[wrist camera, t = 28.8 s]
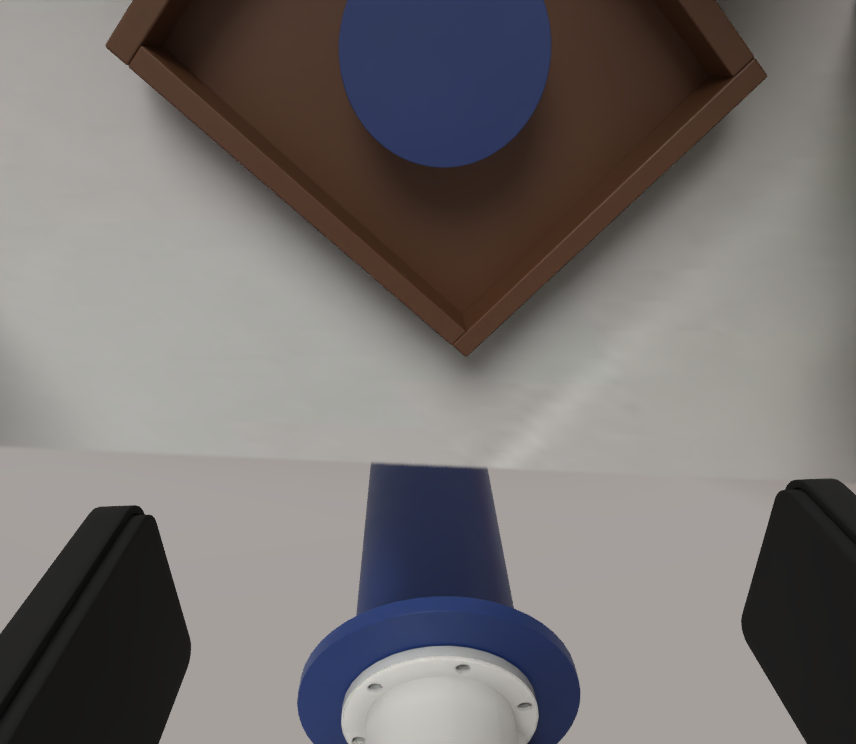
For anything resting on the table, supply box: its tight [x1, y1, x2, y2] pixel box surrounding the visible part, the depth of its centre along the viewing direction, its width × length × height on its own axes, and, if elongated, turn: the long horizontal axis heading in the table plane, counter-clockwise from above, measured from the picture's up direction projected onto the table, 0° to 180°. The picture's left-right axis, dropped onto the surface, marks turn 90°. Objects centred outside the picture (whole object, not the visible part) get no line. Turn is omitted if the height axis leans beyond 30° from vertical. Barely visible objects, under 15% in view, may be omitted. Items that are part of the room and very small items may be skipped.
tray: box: [106, 0, 767, 356], centre depth 20 cm, size 16×14×2 cm
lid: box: [339, 0, 552, 168], centre depth 19 cm, size 6×6×2 cm
